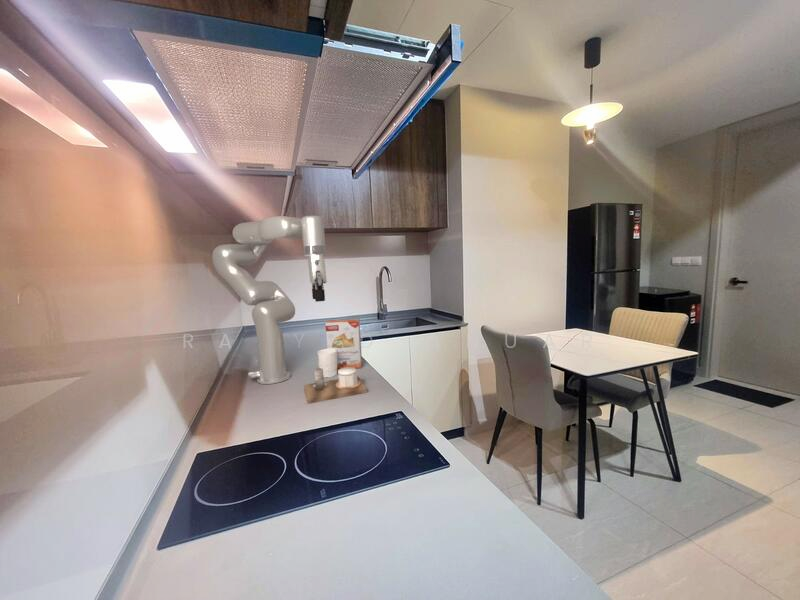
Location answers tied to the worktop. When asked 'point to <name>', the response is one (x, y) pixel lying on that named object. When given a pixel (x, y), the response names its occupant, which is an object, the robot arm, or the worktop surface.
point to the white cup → (328, 362)
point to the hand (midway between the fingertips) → (318, 299)
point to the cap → (347, 376)
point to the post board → (330, 389)
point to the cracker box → (345, 342)
